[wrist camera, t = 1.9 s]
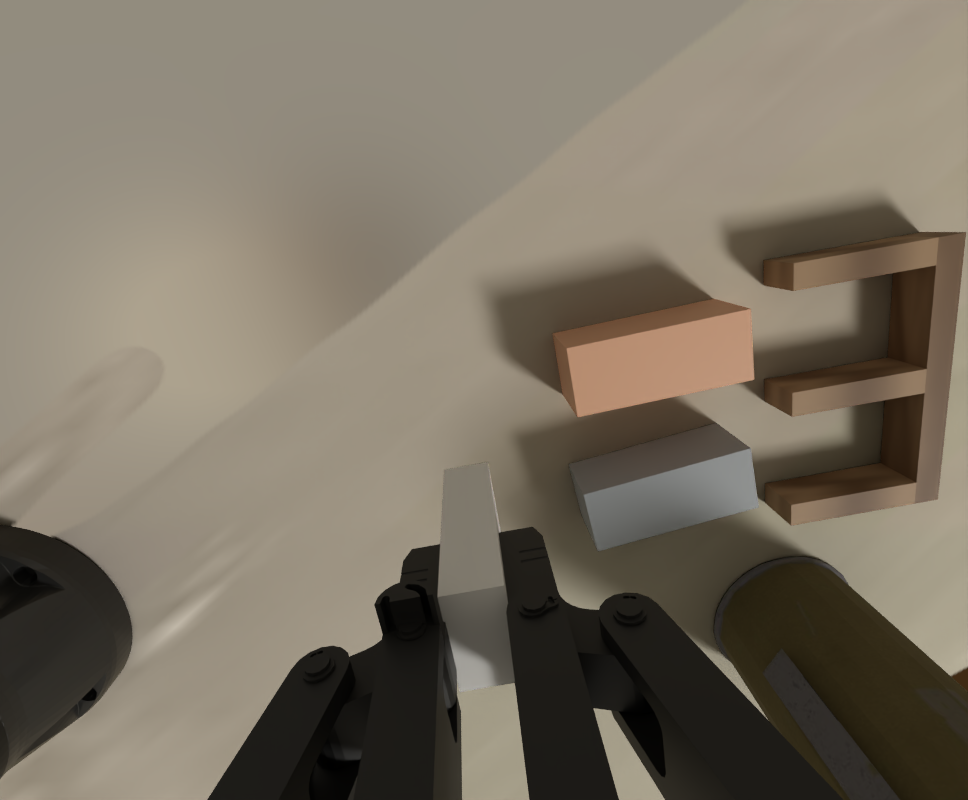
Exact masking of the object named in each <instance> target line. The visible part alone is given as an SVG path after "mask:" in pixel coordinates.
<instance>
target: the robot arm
mask: <svg viewBox="0 0 968 800" xmlns="http://www.w3.org/2000/svg"><path fill="white" fill-rule="evenodd" d="M401 574H402V576H401V579H400V583H398V584H395V585H393V586H391V587H390V588H388V589H386V590H385V591H384V592H383V593H382V594H381V595H380V596H379V597H378V598H377V600H376V603H375V608H376V612H377V615H378V619H379V622H380V626H381V629H382V633H383V636H382V640H381V641H380V642H378V643H377V644H376V645H374V646H372V647H370V648H368V649H367V650H364V651H362V652H360V653H357V654H355V655H353V656H350V657H349V655H348V652H346V651H345V650H344V649H343V648H341V647H336V646H329V647H322V648H319V649H317V650H314V651H312V652H310V653H308V654H307V655H306V656H304V657H303V658H301V659H300V660H299V661H298V662H297V663H296V664H295V666H294V667H293V668H292V669H291V671H290V672H289V674H288V675H287V677H286V678H285V680H284V682H283V683H282V685H281V686H280V688H279V689H278V691H277V692H276V694H275V696H274V697H273V699H272V700H271V702H270V703H269V705H268V706H267V708H266V710H265V711H264V713H263V714H262V716H261V717H260V719H259V720H258V722H257V723H256V725H255V727H254V728H253V730H252V731H251V733H250V734H249V736H248V737H247V739H246V741H245V742H244V744H243V745H242V747H241V748H240V750H239V751H238V753H237V755H236V756H235V758H234V759H233V761H232V762H231V764H230V765H229V767H228V768H227V770H226V772H225V773H224V775H223V776H222V778H221V779H220V781H219V782H218V784H217V786H216V787H215V789H214V790H213V792H212V793H211V795H210V796H209V798H208V800H462V767H461V710H460V706H459V702H458V698H457V682H458V686H459V690H460V692H464V691H470V690H475V689H481V688H487V687H493V686H498V685H504V684H510V683H515V687H516V695H517V703H518V711H519V719H520V727H521V735H522V743H523V751H524V759H525V767H526V775H527V783H528V791H529V799H530V800H619V799H618V795H617V792H616V788H615V784H614V781H613V777H612V774H611V770H610V767H609V763H608V759H607V756H606V752H605V749H604V745H603V742H602V738H601V735H600V731H599V727H598V724H597V720H596V717H595V713H594V710H593V708H598V709H605V710H611V711H612V714H613V717H614V719H615V720H616V722H617V723H618V725H619V727H620V728H621V730H622V731H623V733H624V735H625V736H626V738H627V739H628V741H629V743H630V744H631V746H632V747H633V749H634V751H635V752H636V754H637V755H638V757H639V758H640V760H641V762H642V763H643V765H644V766H645V768H646V770H647V771H648V773H649V774H650V776H651V778H652V779H653V781H654V782H655V784H656V786H657V787H658V789H659V790H660V792H661V794H662V795H663V797H664V798H665V800H843V799H842V797H841V796H840V795H839V794H838V793H837V792H836V791H835V790H834V789H833V788H832V787H831V786H830V785H829V784H828V783H827V782H826V781H825V780H824V779H823V777H822V776H821V775H820V774H819V773H818V772H817V771H816V770H815V769H814V768H813V767H812V766H811V765H810V764H809V763H808V762H807V761H806V760H805V759H804V758H803V756H802V755H801V754H800V753H799V752H798V751H797V750H796V749H795V748H794V747H793V746H792V745H791V744H790V743H789V742H788V741H787V740H786V739H785V738H784V737H783V735H782V734H781V733H780V732H779V731H778V730H777V729H776V728H775V727H774V726H773V725H772V724H771V723H770V722H769V721H768V720H767V719H766V718H765V717H764V715H763V714H762V713H761V712H760V711H759V710H758V709H757V708H756V707H755V706H754V705H753V704H752V703H751V702H750V701H749V700H748V699H747V698H746V697H745V696H744V694H743V693H742V692H741V691H740V690H739V689H738V688H737V687H736V686H735V685H734V684H733V683H732V682H731V681H730V680H729V679H728V678H727V677H726V676H725V675H724V673H723V672H722V671H721V670H720V669H719V668H718V667H717V666H716V665H715V664H714V663H713V662H712V661H711V660H710V659H709V658H708V657H707V656H706V655H705V653H704V652H703V651H702V650H701V649H700V648H699V647H698V646H697V645H696V644H695V643H694V642H693V641H692V640H691V639H690V638H689V637H688V636H687V635H686V634H685V632H684V631H683V630H682V629H681V628H680V627H679V626H678V625H677V624H676V623H675V622H674V621H673V620H672V619H671V618H670V617H669V616H668V615H667V614H666V613H665V611H664V610H663V609H662V608H661V607H660V606H659V605H658V604H657V603H656V602H654V601H653V600H652V599H650V598H649V597H647V596H644V595H640V594H637V593H621V594H616V595H613V596H611V597H610V598H608V599H606V600H605V601H604V602H603V603H602V605H601V606H600V609H599V610H589V609H582V608H578V607H575V606H572V605H570V604H569V603H567V602H565V601H564V600H563V599H562V598H561V597H560V595H559V593H558V590H557V586H556V583H555V579H554V576H553V572H552V568H551V565H550V561H549V558H548V554H547V551H546V547H545V543H544V540H543V536H542V535H541V534H540V533H539V532H538V531H537V530H536V529H534V528H533V527H529V528H523V529H517V530H512V531H506V532H501V530H500V525H499V519H498V514H497V508H496V503H495V498H494V492H493V487H492V481H491V476H490V470H489V465H488V462H485V463H479V464H473V465H468V466H462V467H456V468H451V469H445V470H444V482H443V501H442V520H441V539H440V544H439V545H434V546H428V547H422V548H417V549H412V550H411V551H410V553H409V554H408V556H407V557H406V558H405V560H404V561H403V566H402V572H401ZM131 645H132V626H131V620H130V616H129V613H128V610H127V607H126V605H125V602H124V600H123V598H122V596H121V595H120V593H119V591H118V590H117V588H116V587H115V586H114V584H113V583H112V582H111V580H110V579H109V578H108V577H107V576H106V575H105V573H104V572H103V571H102V570H101V569H100V568H99V567H97V566H96V565H95V564H94V563H93V562H92V561H90V560H89V559H88V558H87V557H85V556H84V555H82V554H81V553H79V552H78V551H76V550H75V549H73V548H71V547H70V546H68V545H66V544H64V543H62V542H60V541H58V540H56V539H54V538H51V537H49V536H46V535H43V534H40V533H37V532H34V531H31V530H27V529H22V528H17V527H11V526H3V525H0V779H1V777H2V776H3V775H4V774H5V773H6V772H7V771H8V770H9V769H11V768H12V767H13V766H15V765H16V764H18V763H19V762H20V761H22V760H23V759H24V758H26V757H27V756H28V755H30V754H31V753H32V752H34V751H35V750H36V749H38V748H39V747H40V746H42V745H43V744H45V743H46V742H47V741H49V740H50V739H51V738H53V737H54V736H55V735H57V734H58V733H59V732H61V731H62V730H63V729H65V728H66V727H67V726H69V725H70V724H72V723H73V722H74V721H76V720H77V719H78V718H80V717H81V716H82V715H84V714H85V713H86V712H87V711H89V710H90V709H91V708H92V707H93V706H94V705H95V704H96V703H97V702H98V701H99V700H100V699H101V698H102V696H103V695H104V694H105V692H106V691H107V690H108V688H109V687H110V686H111V684H112V683H113V682H114V680H115V679H116V678H117V676H118V675H119V674H120V673H121V671H122V669H123V668H124V666H125V664H126V662H127V660H128V657H129V654H130V650H131Z"/></svg>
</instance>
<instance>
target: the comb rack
mask: <svg viewBox="0 0 968 800" xmlns="http://www.w3.org/2000/svg"><path fill="white" fill-rule="evenodd" d="M965 237H966V232H918V233H913V234H907V235H901V236H896V237H890V238H885V239H879V240H874V241H868V242H862V243H857V244H851V245H846V246H840V247H835V248H829V249H823V250H818V251H812V252H807V253H801V254H796V255H790V256H784V257H779V258H773V259H768V260H763V263H764V286H769V287H775V288H780V289H786V290H791V291H796V290H801V289H807V288H812V287H818V286H824V285H829V284H835V283H840V282H846V281H851V280H857V279H863V278H868V277H874V276H879V275H885V274H891V273H893V282H892V297H891V312H890V327H889V342H888V357H887V358H881V359H875V360H870V361H864V362H859V363H853V364H847V365H842V366H836V367H831V368H825V369H820V370H814V371H808V372H803V373H797V374H792V375H786V376H780V377H775V378H769V379H764V401H765V402H767V403H768V404H770V405H772V406H774V407H776V408H777V409H779V410H781V411H783V412H785V413H786V414H788V415H790V416H792V417H794V416H799V415H805V414H810V413H816V412H822V411H827V410H833V409H838V408H844V407H849V406H855V405H861V404H866V403H872V402H877V401H883V400H885V402H884V417H883V432H882V447H881V462H880V463H877V464H871V465H866V466H860V467H854V468H849V469H843V470H838V471H832V472H826V473H821V474H815V475H810V476H804V477H798V478H793V479H787V480H782V481H776V482H771V483H765V503H766V504H767V505H768V506H769V507H771V508H772V509H773V510H774V511H775V512H776V513H777V514H779V515H780V516H781V517H782V518H783V519H784V520H785V521H787V522H788V523H789V524H790V525H791V526H792V525H797V524H803V523H808V522H814V521H820V520H825V519H831V518H836V517H842V516H847V515H853V514H859V513H864V512H870V511H875V510H881V509H887V508H892V507H898V506H903V505H909V504H915V503H920V502H926V501H931V500H937V499H938V492H939V483H940V473H941V464H942V454H943V445H944V436H945V426H946V417H947V407H948V398H949V388H950V379H951V369H952V360H953V350H954V341H955V332H956V322H957V313H958V303H959V294H960V284H961V275H962V265H963V256H964V246H965Z"/></svg>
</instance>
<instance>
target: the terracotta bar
mask: <svg viewBox="0 0 968 800" xmlns="http://www.w3.org/2000/svg"><path fill="white" fill-rule="evenodd" d="M552 334H553V340H554V346H555V352H556V358H557V364H558V370H559V376H560V381H561V387H562V393H563V396H564V397H565V399H566V400H567V402H568V403H569V405H570V406H571V408H572V409H573V411H574V412H575V414H576V416H577V417H582V416H586V415H591V414H596V413H600V412H605V411H610V410H615V409H619V408H624V407H629V406H633V405H638V404H643V403H647V402H652V401H657V400H661V399H666V398H671V397H676V396H680V395H685V394H690V393H694V392H699V391H704V390H708V389H713V388H718V387H722V386H727V385H732V384H737V383H741V382H746V381H751V380H754V362H753V342H752V321H751V309H750V308H746V307H742V306H738V305H735V304H731V303H727V302H724V301H720V300H716V299H710V300H705V301H701V302H696V303H691V304H687V305H682V306H677V307H673V308H668V309H663V310H659V311H654V312H649V313H645V314H640V315H636V316H631V317H626V318H622V319H617V320H612V321H608V322H603V323H598V324H594V325H589V326H584V327H580V328H575V329H570V330H566V331H561V332H556V333H552Z"/></svg>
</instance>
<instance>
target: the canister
mask: <svg viewBox="0 0 968 800" xmlns="http://www.w3.org/2000/svg"><path fill="white" fill-rule="evenodd" d="M714 634H715V638H716V642H717V645H718V647H719V649H720V650H721V652H722V653H723V655H724V656H725V657H726V658H727V659H728V660H729V661H730V662H731V663H732V664H733V665H734V667H735V668H736V670H737V672H738V673H739V675H740V676H741V678H742V679H743V681H744V682H745V684H746V686H747V687H748V689H749V690H750V692H751V693H752V695H753V697H754V698H755V700H756V701H757V703H758V704H759V706H760V707H761V709H762V711H763V712H764V714H765V715H766V717H767V718H768V720H769V722H770V723H771V724H772V725H773V726H774V727H775V728H776V729H777V730H778V731H779V732H780V733H781V734H782V735H783V737H784V738H785V739H786V740H787V741H788V742H789V743H790V744H791V745H792V746H793V747H794V748H795V749H796V750H797V751H798V752H799V753H800V754H801V755H802V756H803V758H804V759H805V760H806V761H807V762H808V763H809V764H810V765H811V766H812V767H813V768H814V769H815V770H816V771H817V772H818V773H819V774H820V775H821V776H822V777H823V779H824V780H825V781H826V782H827V783H828V784H829V785H830V786H831V787H832V788H833V789H834V790H835V791H836V792H837V793H838V794H839V795H840V796H841V797H842V799H843V800H968V692H967V691H966V690H965V689H964V688H963V687H962V686H961V685H960V684H959V683H957V682H956V681H955V680H954V679H953V678H952V677H951V676H950V675H948V674H947V673H946V672H945V671H944V670H943V669H942V668H941V667H940V666H938V665H937V664H936V663H935V662H934V661H933V660H932V659H931V658H929V657H928V656H927V655H926V654H925V653H924V652H923V651H922V650H920V649H919V648H918V647H917V646H916V645H915V644H914V643H913V642H912V641H910V640H909V639H908V638H907V637H906V636H905V635H904V634H903V633H901V632H900V631H899V630H898V629H897V628H896V627H895V626H894V625H892V624H891V623H890V622H889V621H888V620H887V619H886V618H885V617H884V616H882V615H881V614H880V613H879V612H878V611H877V610H876V609H875V608H873V607H872V606H871V605H870V604H869V603H868V602H867V601H866V600H865V599H863V598H862V597H861V596H860V595H859V594H858V593H857V592H856V591H854V590H853V589H852V588H851V587H850V586H849V585H848V583H847V581H846V580H845V578H844V576H843V575H842V574H841V573H840V572H838V571H837V570H836V569H835V568H834V567H832V566H830V565H828V564H826V563H824V562H822V561H820V560H818V559H813V558H808V557H787V558H782V559H778V560H774V561H770V562H767V563H764V564H762V565H759V566H757V567H755V568H754V569H752V570H751V571H749V572H747V573H746V574H744V575H743V576H742V577H741V578H740V579H738V580H737V581H736V582H735V583H734V584H733V585H732V586H731V587H730V588H729V590H728V591H727V592H726V594H725V595H724V596H723V598H722V600H721V602H720V605H719V607H718V609H717V613H716V616H715V626H714Z"/></svg>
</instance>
